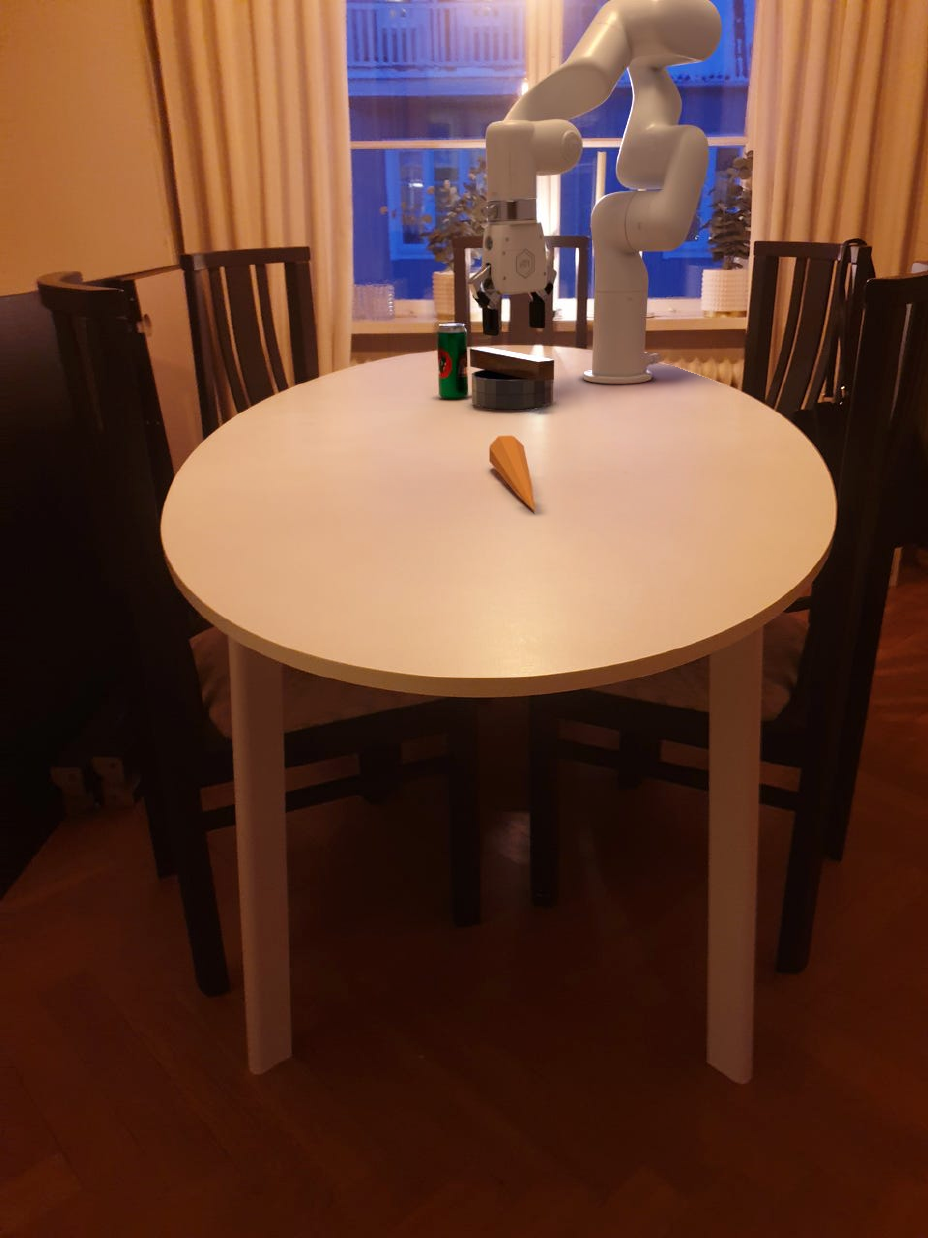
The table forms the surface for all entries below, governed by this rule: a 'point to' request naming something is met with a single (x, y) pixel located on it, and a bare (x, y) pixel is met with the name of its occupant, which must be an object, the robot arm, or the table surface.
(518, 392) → the bowl
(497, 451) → the carrot
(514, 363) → the rectangular bar
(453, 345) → the soda can
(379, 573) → the table surface
